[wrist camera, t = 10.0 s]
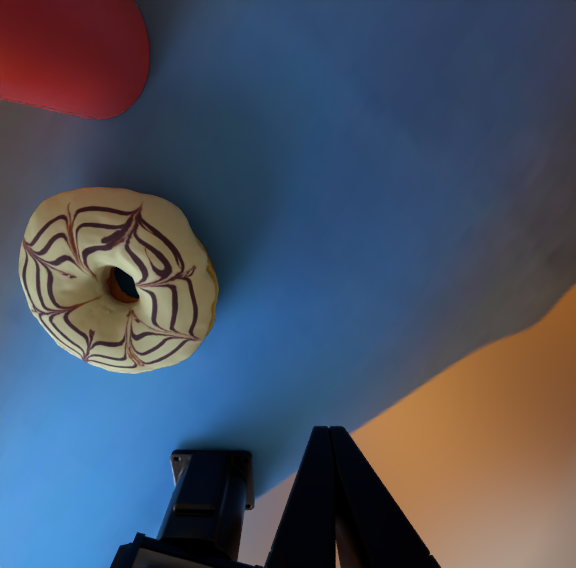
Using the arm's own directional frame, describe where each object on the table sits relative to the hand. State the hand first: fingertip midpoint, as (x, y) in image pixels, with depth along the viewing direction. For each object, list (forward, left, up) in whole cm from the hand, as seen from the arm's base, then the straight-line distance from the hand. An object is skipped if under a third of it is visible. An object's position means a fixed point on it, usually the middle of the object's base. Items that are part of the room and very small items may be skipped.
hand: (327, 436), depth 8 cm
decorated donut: (+1, +11, -12) cm, 16 cm away
